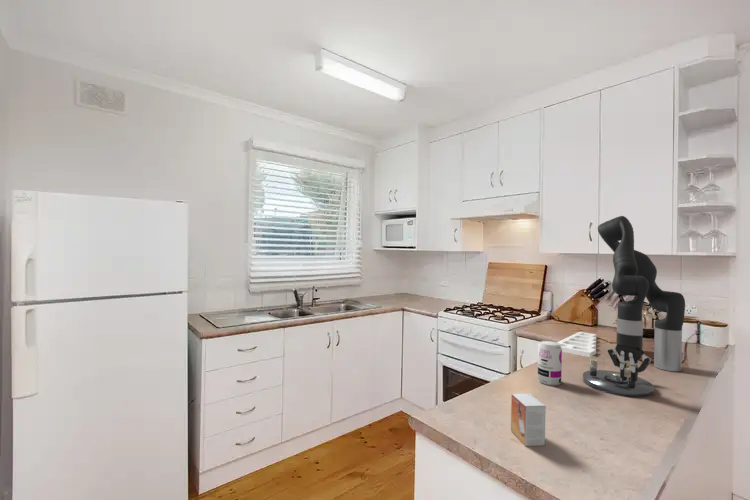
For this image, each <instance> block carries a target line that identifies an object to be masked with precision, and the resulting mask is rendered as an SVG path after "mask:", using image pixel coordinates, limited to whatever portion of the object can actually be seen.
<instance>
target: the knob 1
mask: <svg viewBox="0 0 750 500" xmlns="http://www.w3.org/2000/svg"><path fill="white" fill-rule="evenodd" d="M597 370H598V358H597V356H596V355H593V356H590V357H589V371H590V375H591V376H597Z"/></svg>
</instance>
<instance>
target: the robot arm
mask: <svg viewBox="0 0 750 500" xmlns="http://www.w3.org/2000/svg"><path fill="white" fill-rule="evenodd" d="M597 232H598V233H599V236H600V237H601V239H602V240H603V241H604V243H605V244H606V245H607V246H608V247H609V248H610V249H611V250H612V252H613V256H612V263H613V268H614V276H613V280H612V282H611V288H612V291H613V292H614V293H615V294H616V295H620V296H633V297H634V298H633V299H632V300H631V299H630V300H628V301H627V300H626V301H621V302H619V303H618V304H617V320H616V346H615V347H614V348H610V349H608V350H607V353H608V355H609V357H610V360H611V361H612V363H613V365H614V366H615V367H617V368H619V372H620V377H621V378H622V380H624V381H625V380H627V377H626V376H624V368H627V362H628V361H630V365H631V371H632V372H631V383H635V382H636V381H637V380H638V377H639V375H638V372H639V373H643V372H645V371H646V369H647V368H648V367H649V365H650V364H651V362H652V361H653V366H654V367H655V368H656V369H659V370H663V371H668V372H681V371H682V363H683V362H682V357H683V355H682V354H683V346H682V345H683V343H682V342H683V325H684V322H685V312H686V311H685V310H686V299H685V297H684V295H683V294H682V293H680V292H678V291H677V292H676V291H669V290H668V291H667V290H662V289H661V288H660V287H659V286H658V284H657V283H656V279H657V273H658V269H657V267H656V265H655V264H654V263H653V261H652V260H651V258H650V257H649V256H648V255H647V254H645V253H644V252H641V251H639V250H636V249H635V235H634V228H633V224H632V223H631V222H630V220H629V219H628V217H626V216H625V215H620V216H616V217H613V218H612V219H609V220H607V221H605V222H603V223H601V224H599V225H598V226H597ZM645 299H646V300H647V301H648V304H649V305H650V306H651V308H653V310H655V311H658V312H661V313H666V314H665V315H666V317H665V318H662V319H657V320H655V321H654V337H653V338H654V340H653V341H654V349H653V352H654V353H653V358H654V359H653V358H652V357H651V356H650V357H649V356H648V355H646V354H645V352H644V350H643V343H644V341H643V339H644V337H643V335H644V329H643V328H644V325H643V306H644V302H645ZM618 355H619V357H620V360H619V358H618ZM641 358H642V360H641V361H642V363H641V364H640V366H639V360H640V359H641ZM638 367H639V368H638Z"/></svg>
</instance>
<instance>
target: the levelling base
mask: <svg viewBox="0 0 750 500" xmlns="http://www.w3.org/2000/svg"><path fill="white" fill-rule="evenodd" d="M582 382H583V383H584V384H585V385H586V386H589V387H590V388H593V389H595V390H597V391H601V392H604V393H606V394H611V395H615V396H621V397H629V398H646V397H651V396H652V395H653V394H654V385H653V384H652V383H651V382H650V381H648V380H646V379H644V378H642V377H639V376H638V380H637V381H636V382H635V388H632V387H629V386H628V377H627V380H625V381H624V380H622V378H621V377H620V371H614V370H613V371H612V370H606V369H597V376H591V375H590V370H586V371H584V372H583V373H582Z"/></svg>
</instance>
